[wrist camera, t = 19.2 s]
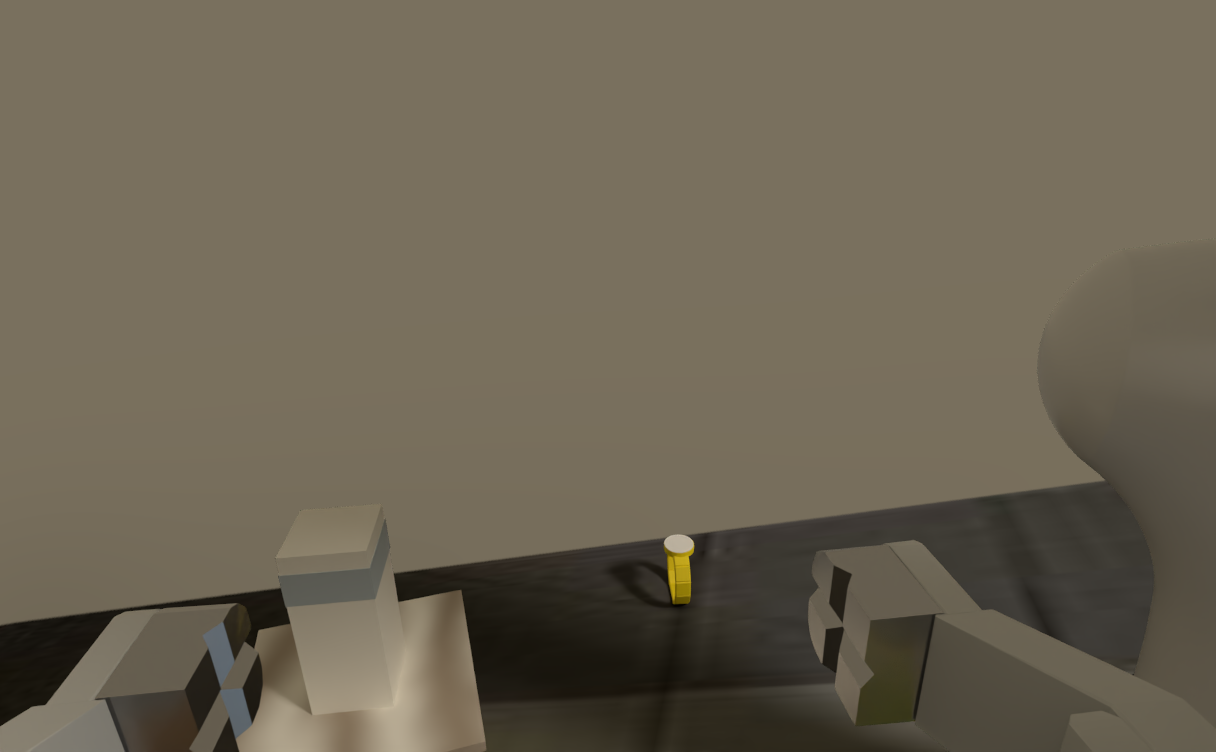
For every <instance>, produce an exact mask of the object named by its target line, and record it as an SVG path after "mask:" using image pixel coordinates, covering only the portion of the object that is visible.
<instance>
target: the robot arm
mask: <svg viewBox="0 0 1216 752" xmlns="http://www.w3.org/2000/svg"><path fill="white" fill-rule="evenodd" d="M1037 374H1038V383H1039V390H1040V393H1041V397H1042V401H1043V404H1044V407H1045V409H1046V411H1047V414H1048V416H1049V419H1050V420H1051V422H1052V424H1053V426H1054V427H1055V429H1056V431H1057V432H1058V434H1059V435H1060V436H1061V438H1062V439H1063V440H1064V442H1065V443H1066V444H1067V446H1068V447H1069V448H1070V449H1071V450H1072V451H1073V452H1074V453H1075V454H1076V455H1077V456H1078V457H1079V458H1080V459H1081V460H1083V461H1084V462H1085V463H1086V464H1087V465H1089V466H1090V467H1091V468H1093V469H1094V470H1095V471H1096V472H1097V473H1099V474H1100V475H1101V476H1102V477H1103V478H1104V479H1105V480H1106V481H1107V482H1108V483H1109V484H1110V485H1111V486H1112V487H1113V488H1114V489H1115V490H1116V492H1117V493H1118V494H1119V495H1120V496H1121V498H1122V499H1123V500H1124V501H1125V503H1126V504H1127V506H1128V507H1129V508H1130V510H1131V511H1132V513H1133V514H1134V516H1135V518H1136V519H1137V521H1138V523H1139V525H1140V527H1141V529H1142V531H1143V534H1144V536H1145V539H1146V541H1147V544H1148V546H1149V550H1150V553H1151V557H1152V562H1153V568H1154V590H1153V598H1152V603H1151V608H1150V614H1149V619H1148V623H1147V628H1146V632H1145V636H1144V641H1143V645H1142V648H1141V652H1140V656H1139V659H1138V663H1137V666H1136V669H1135V672H1134V674H1133V675H1131V674H1129V673H1127V672H1125V671H1122V670H1120V669H1118V668H1116V667H1114V666H1112V665H1110V664H1107V663H1105V662H1103V661H1101V660H1099V659H1097V658H1095V657H1093V656H1090V655H1088V654H1086V653H1084V652H1082V651H1080V650H1078V649H1076V648H1073V647H1071V646H1069V645H1067V644H1065V643H1063V642H1061V641H1058V640H1056V639H1054V638H1052V637H1050V636H1048V635H1046V634H1044V633H1041V632H1039V631H1037V630H1035V629H1033V628H1031V627H1029V626H1026V625H1024V624H1022V623H1020V622H1018V621H1016V620H1014V619H1012V618H1009V617H1007V616H1005V615H1003V614H1001V613H999V612H997V611H994V610H981V609H980V607H979V606H978V605H977V604H976V603H975V602H974V601H973V600H972V599H971V597H970V596H969V595H968V594H967V593H966V592H965V591H964V590H963V589H962V587H961V586H960V585H959V584H958V583H957V582H956V581H955V580H954V579H953V577H952V576H951V575H950V574H949V573H948V572H947V571H946V570H945V569H944V567H943V566H942V565H941V564H940V563H939V562H938V561H937V560H936V559H935V557H934V556H933V555H932V554H931V553H930V552H929V551H928V550H927V548H926V547H925V546H924V545H923V544H922V543H919V542H917V541H915V540H912V541H903V542H895V543H886V544H882V545H879V546H868V547H858V548H847V549H837V550H826V551H817V553H816V555H815V558H814V560H813V568H812V576H813V577H814V579H815V581H816V582H817V584H818V586H819V588H818V589H817V590H816V592H815V593H814V594H813V595H812V596H811V597H810V599H809V609H808V622H809V629H810V636H811V639H812V642H813V645H814V648H815V651H816V653H817V655H818V657H819V659H820V661H821V663H822V664H823V665H824V666H826V667H827V668H829V669H830V670H832V671H833V672H835V673H837V674H836V682H835V690H836V692H837V693H838V695H839V697H840V699H841V701H842V703H843V705H844V706H845V708H846V710H847V712H848V714H849V716H850V718H851V719H852V721H853V723H854V725H855V726H865V725H876V724H888V723H900V722H911V721H915V725H916V726H918V727H919V728H920V729H922V730H923V731H924V732H925V733H927V734H928V735H929V736H931V737H932V738H933V739H934V740H936V741H937V742H938V743H939V744H941V745H942V746H943V747H945V748H946V749H947V750H948V751H950V752H1216V239H1206V240H1195V241H1184V242H1176V243H1168V244H1160V245H1153V246H1145V247H1137V248H1129V249H1122V250H1117V251H1114V252H1112V253H1110V254H1109V255H1108V256H1106V257H1104V258H1103V259H1101V260H1100V261H1098V262H1097V263H1095V264H1094V265H1093V266H1092V267H1090V268H1089V269H1088V270H1087V271H1085V272H1084V273H1083V274H1082V275H1081V276H1080V277H1079V278H1078V279H1077V280H1076V281H1075V282H1074V283H1073V284H1072V285H1071V286H1070V287H1069V288H1068V290H1067V291H1066V292H1065V294H1064V295H1063V296H1062V297H1061V298H1060V300H1059V302H1058V303H1057V305H1056V306H1055V308H1054V310H1053V311H1052V313H1051V315H1050V317H1049V319H1048V322H1047V324H1046V326H1045V328H1044V331H1043V335H1042V338H1041V342H1040V347H1039V352H1038V364H1037ZM251 627H252V626H251V623H250V620H249V617H248V613H247V610H246V607H244V606H242V605H240V604H239V603H234V604H219V605H205V606H190V607H176V608H164V609H152V610H140V611H128V612H124V613H122V614H119V615H117V616H115V617H114V618H113V619H112V620H111V622H110V623H109V624H108V626H107V627H106V628H105V629H104V631H103V632H102V633H101V635H100V636H99V637H98V638H97V640H96V641H95V642H94V644H93V645H92V646H91V647H90V649H89V650H88V651H87V652H86V654H85V655H84V656H83V658H82V659H81V660H80V661H79V663H78V664H77V665H76V667H75V668H74V669H73V670H72V672H71V673H70V674H69V676H68V677H67V678H66V679H65V681H64V682H63V683H62V685H61V686H60V687H59V688H58V690H57V691H56V692H55V694H54V695H53V696H52V697H51V699H50V700H49V701H48V703H47V704H46V705H43V706H35V707H31V708H29V709H28V710H26V711H25V712H23V713H21V714H20V715H18V716H16V717H15V718H13V719H12V720H10V721H8V722H7V723H5V724H4V725H2V726H0V752H239V749H238V745H237V742H236V738H237V737H239V736H240V735H241V734H242V733H243V732H244V731H246V730H247V729H248V728H249V727H250V726H252V724H253V722H254V719H255V716H256V714H257V711H258V709H259V706H260V700H261V694H262V688H263V675H262V665H261V661H260V657H259V653H258V652H257V651H256V650H255V649H253V648H252V647H251V646H249V645H248V644H247V643H246V642H245V640H246V638H247V635H248V633H249V631H250V629H251Z"/></svg>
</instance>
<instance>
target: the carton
mask: <svg viewBox="0 0 1216 752" xmlns="http://www.w3.org/2000/svg"><path fill="white" fill-rule="evenodd" d="M275 560H276V564H277V568H278V573H279V576H278V578H279V582H280V586H281V590H282V594H283V599H284V603H285V607H287V610H288V615H289V619H290V623H291V627H292V631H293V636H294V640H295V644H296V648H297V652H298V657H299V661H300V665H301V669H302V673H303V678H304V682H305V686H306V690H307V694H308V699H309V703H310V707H311V711H312V715H320V714H330V713H339V712H349V711H358V710H368V709H377V708H387V707H394V705H395V700H396V695H397V690H398V686H399V681H400V676H401V671H402V666H403V661H404V656H405V651H406V647H405V641H404V635H403V629H402V622H401V616H400V610H399V604H398V598H397V592H396V586H395V580H394V574H393V568H392V562H391V555H390V544H389V538H388V532H387V525H386V520H385V519H384V513H383V507H382V504H373V505H360V506H347V507H335V508H322V509H309V510H300V512H299V514H298V516H297V518H296V520H295V522H294V524H293V525H292V527H291V529H290V531H289V533H288V535H287V537H286V539H285V541H284V543H283V545H282V546H281V549H280V550H279V552H278V554H277V556H276V558H275Z"/></svg>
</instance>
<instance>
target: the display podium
mask: <svg viewBox="0 0 1216 752" xmlns="http://www.w3.org/2000/svg"><path fill="white" fill-rule="evenodd" d="M398 604H399V610H400V616H401V622H402V629H403V635H404V641H405V647H406V651H405V656H404V661H403V666H402V671H401V676H400V681H399V686H398V690H397V695H396V700H395V705H394V707H387V708H377V709H368V710H358V711H349V712H339V713H330V714H320V715H312V711H311V707H310V703H309V699H308V694H307V690H306V686H305V682H304V678H303V673H302V669H301V665H300V661H299V657H298V652H297V648H296V644H295V640H294V636H293V631H292V627H291V624H287V625H282V626H277V627H272V628H267V629H262V630H259V631H258V635H257V640H256V644H255V650H256V651H257V652H258V653H259V657H260V661H261V665H262V675H263V688H262V694H261V700H260V706H259V709H258V711H257V714H256V716H255V719H254V722H253V724H252V726H250V727H249V728H248V729H247V730H246V731H244V732H243V733H242V734H241V735H240V736H239V737H237V738H236V742H237V745H238V749H239V752H482V751H486V742H485V736H484V730H483V723H482V717H481V711H480V705H479V698H478V692H477V686H476V680H475V673H474V667H473V661H472V655H471V648H470V642H469V636H468V630H467V623H466V617H465V611H464V605H463V598H462V592H461V590H457V591H452V592H447V593H442V594H437V595H432V596H427V597H422V598H417V599H412V600H407V601H402V602H398Z"/></svg>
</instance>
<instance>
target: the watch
mask: <svg viewBox="0 0 1216 752" xmlns="http://www.w3.org/2000/svg"><path fill="white" fill-rule="evenodd" d="M664 550H665V552H666V553H667V568H668V580H669V587H670V591H671V596H672V601H673V602H672V603H673V604H688V603H689V602H690V596H691V595H690V594H691V577H690V566H689V565H690V564H689V556H690V555H691V554H692V553H693V551H694V542H693V540H692V539H690V538H689V537H687V536H685V535H672V536H669V537H668V538H666V540H665V541H664Z"/></svg>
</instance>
